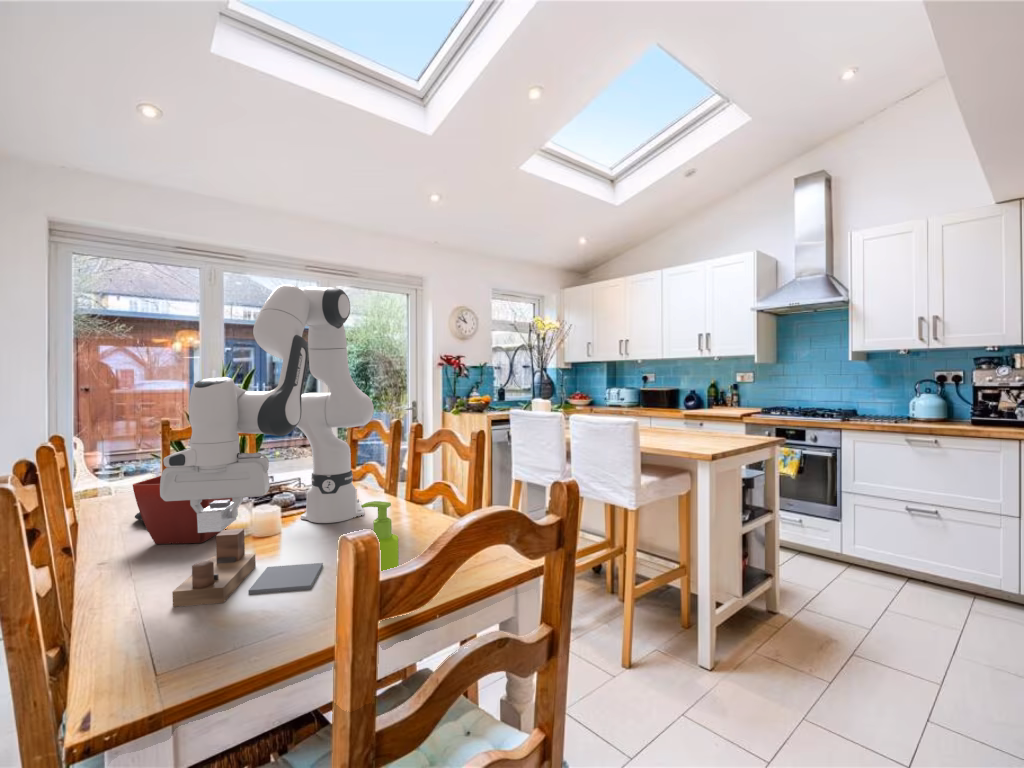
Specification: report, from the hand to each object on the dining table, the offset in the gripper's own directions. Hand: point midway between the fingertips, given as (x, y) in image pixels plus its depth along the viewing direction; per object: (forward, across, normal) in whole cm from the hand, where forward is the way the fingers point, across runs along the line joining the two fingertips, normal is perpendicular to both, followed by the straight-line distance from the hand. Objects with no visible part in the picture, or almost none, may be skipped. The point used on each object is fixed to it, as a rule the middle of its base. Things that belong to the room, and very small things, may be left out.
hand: (217, 518), depth 102 cm
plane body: (+14, 0, +1) cm, 14 cm away
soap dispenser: (+14, -35, +17) cm, 41 cm away
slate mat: (+14, -14, +1) cm, 20 cm away
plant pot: (+15, +20, -34) cm, 42 cm away
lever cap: (+2, 0, 0) cm, 2 cm away
